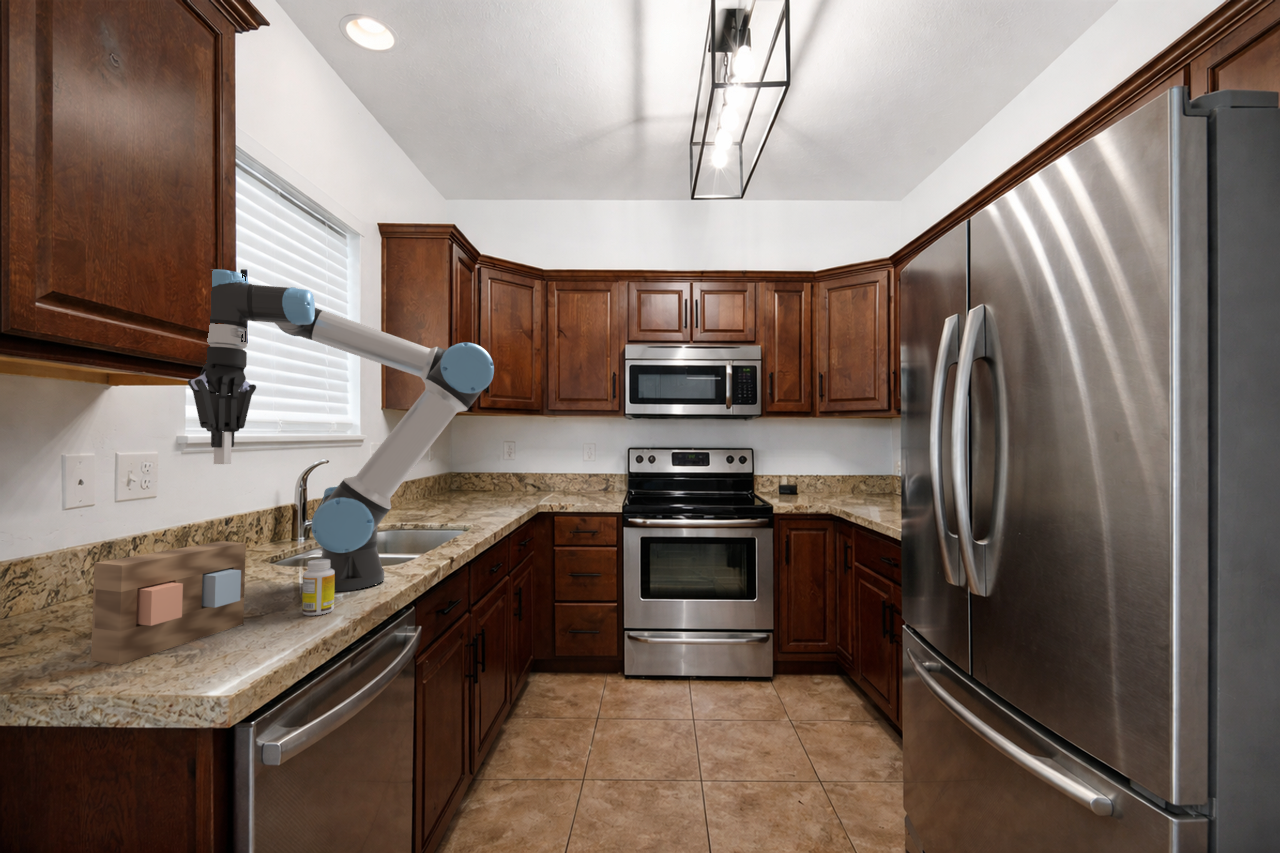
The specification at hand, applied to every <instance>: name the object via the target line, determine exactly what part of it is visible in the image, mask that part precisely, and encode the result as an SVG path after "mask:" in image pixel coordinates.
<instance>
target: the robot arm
mask: <svg viewBox="0 0 1280 853" xmlns="http://www.w3.org/2000/svg"><path fill="white" fill-rule="evenodd" d="M212 270H213V271H212V291H211V316H210V325H209V333H208V338H207V342H208V344H209V345H210V346H209V347H208V348H207V360H206V362H207V363H206V364H205V365H204V366H203V365H202V366H203V367H202V370H201V372H200V375H199V376H198V377H195V378H193V379H192V378H191V379H188V380H187V384H188V386H189V387H190V389H191V392H192V393H193V394H192V395H193V398H194V399H193V400H194V403H195V407H196V411H197V416H198V421H199V425H200V428H202V429H206V431H207V432H208V433H209V432H210V446H211V448H213V465H232V448H234V446H235V433H236V432H239V431H240V429H244V428H245V426H246V421H247V417H248V412H249V408H250V404H251V401H252V395H254V392H255V391H256V390H257V385H256V384H251V383H249V381H247V378H246V374H245V371H244V370H246V368H247V366H248V365H247V358H248V356H247V355H248V353H247V351H246V350H245V349H246V348H247V346H248V345H247V342H248V321H249V322H261V323H274V325H276V326H278V328H279V329H280V330H281V331H282V332H283V333H285V334H288V335H289V336H292V337H301V338H304V339H306V340H310V341H313V342H315V343H318V344H319V343H320V344H322V345H325V346H328V347H331V348H334V349H337V350H340V351H343V352H345V353H349V354H352V355H355V356H358V357H361V358H364V359H367V360H370V361H373V362H375V363H378V364H381V365H384V366H387V367H389V368H393V369H396V370H398V371H401V372H405V373H408V374H411V375H414V376H417V377H419V378H421V379H422V380H421V381H422V382H423V383H424V387H425V389H424V391H423V392H422V393H421V394H420V396H419V397H418V398H417V399H416V401H415V402H414V403H413V404H412V406H410V408H409V409H408V410H407V412H406V413H404V416H403V417H402V418H401V420H399V421H398V423H397V424H396V425H395V427H394V428H393V429H392V430H391V432H390V433H389V434H388V435H387V437H386V438H385V439H384V440H383V442H382V443H381V444H380V445H379V447H378V448H377V449H376V450H375V451H374V452H373V454H372V455H371V457H370V458H369V459H368V460H367V462H366V463H365V464H364V465H363V466H362V468H361V469H360V470H359V472H358V473H357V474H356V475H355V476H354V475H353V476H350V477H344V479H342V480H341V482H340V483H339V484H338V485H337V486H329V487H327V488H325V489H324V491H323V497H322V502H323V503H322V504H321V505H319V506H318V508H317V509H315V511H314V513H313V517H312V518H311V533H312V537H313V538H314V539H315V541H316V543H317V544H318V545H319V546H321V548H322V549H321V550H322V553H321V556H320V558H319V559H329V560H330V565H331V566H330V568H331V569H333V570H334V571H335V586H334V592H347V591H349V592H350V591H357V590H356V589H358V590H362V589H361V588H364V589H366V588H365V587H368V588H370V587H369V586H372V585H375V584H378V583H380V582H382V581H383V580H384V581H385V570H384V568H383V567H382V566H383V565H382V562H381V557H380V555H379V551H378V526H379V524H380V523H381V522H382V520H383V519H384V518H385V517H386V516H387V514H388V513H389V511H390V510H392V503H391V497H392V496H393V495H394V494H395V493H396V491H397V490H398V489H399V488H400V486H401V484H403V482H404V481H405V480H406V479H407V477H408V476H409V475H410V473H411V472H412V471H413V469H414V468H415V466H417V465H418V463H419V462H420V461H421V459H422V458H423V457H424V456H425V455H426V453H427V452H428V451H429V449H430V447H431V446H432V445H433V444H434V443H435V441H436V440H437V439H438V438H439V436H440V435H441V433H442V432H443V431H445V428H446V427H447V426H448V425H449V424H450V422H451V421H452V420H453V418H454V417H455V416H456V414H457V413H460V412H466V411H468V410H469V408H470V407H471V406H472V405H473V404H474V402H475V401H476V400H477V398H478V397H479V396H480V395H481V393H482V392H483V391H484V390H485V389H487V388H488V387H489V385H490V384H491V383H492V381H493V378H494V373H495V365H494V361H493V359H492V357H491V355H490V354H489V352H488V351H487V350H486V349H485V348H483V347H482V346H480V345H479V344H476V343H472V342H460V343H456V344H454V345H451V346H450V347H448V348H447V349H445V348H442V347H440V346H434V347H432V348H429V347H427V346H424V345H421V344H419V343H416V342H412V341H410V340H407V339H404V338H402V337H399V336H395V335H393V334H390V333H387V332H384V331H382V330H379V329H376V328H374V327H370V326H368V325H365V324H362V323H360V322H357V321H353V320H351V319H348V318H346V317H343V316H340V315H336V314H335V313H334V314H333V313H331V312H328V311H325V310H322V309H319V308H317V307H315V298H314V294H313V292H311V290H308V289H303V288H298V287H297V288H296V287H293V286H292V287H291V286H290V287H287V286H286V287H285V286H284V287H283V286H272V285H261V284H260V285H259V284H252V283H249V280H248V277H247V276H246V281H245V277H244V276H243V278H242V274H243V273H241V272H238V271H233V270H227V269H217V268H216V269H212ZM215 323H224V324H215ZM245 327H246V328H245ZM245 331H246V342H244V341H245ZM242 334H243V338H242V340H243V342H241V335H242ZM384 581H383V582H384ZM383 582H382V583H383ZM378 585H379V584H378ZM372 587H373V586H372Z"/></svg>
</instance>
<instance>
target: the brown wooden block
mask: <svg viewBox="0 0 1280 853" xmlns="http://www.w3.org/2000/svg"><path fill="white" fill-rule="evenodd" d="M246 545H247V544H246V542H236V541H225V540H224V541H223V540H219V541H214V542H208V543H203V544H202V543H201V544H195V545H190V546H185V547H180V548H173V549H167V550H161V551H156V552H150V553H143V554H139V555H132V556H127V557H120V558H115V559H108V560H104V561H103V560H102V561H98V562H97V561H96V562H94V565H93V566H94V567H93V591H92V592H93V594H92V622H91V647H90V648H91V652H90V661H91V662H92V661H93V662H96V663H104V664H111V665H116V666H121V665H123V664H126V663H129V662H132V661H135V660H138V659H142V658H144V657H149V656H152V655H154V654H156V653H160V652H163V651H166V650H168V649H172V648H175V647H179V646H181V645H184V644H187V643H191V642H194V641H196V640H200V639H203V638H206V637H209V636H212V635H214V634H218V633H222V632H224V631H227V630H230V629H234V628H236V627H240V626H242V625H244V623H245V622H244V621H245V620H244V618H245V616H244V615H245V584H246V580H245V579H246V549H247V546H246ZM223 569H232V570H241V590H240V601H237V602H233V603H230V604H226V605H223V606H219V607H215V608H213V607H205V606H202V578H203V574H205V573H210V572H214V571H219V570H223ZM164 582H172V583H181V584H183V598H182V617H180V618H177V619H173V620H170V621H166V622H162V623H159V624H155V625H152V626H149V625H141V624H136V617H137V588H141V587H146V586H151V585H155V584H160V583H164ZM159 651H160V652H159ZM153 653H154V654H153Z"/></svg>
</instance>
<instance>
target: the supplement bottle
mask: <svg viewBox="0 0 1280 853" xmlns="http://www.w3.org/2000/svg"><path fill="white" fill-rule="evenodd" d="M330 566H331V565H330V560H329V559H320V558H317V559H316V558H315V559H311V560H309V561H307V568H306V569H307V570H305V571H304V572H303V574H302V594H301V596H302V597H301V598H302V600H301V601H302V602H301V603H302V606H301V608H302V610H301V611H302V614H303V615H305V616H310V617H313V616H315V615H316V616H322V614H323V615H326V613H327V614H329V613H331V612H333V610H334V609H335V591H334V586H335V571H334V570H333V569H331V568H330ZM316 616H315V617H316Z"/></svg>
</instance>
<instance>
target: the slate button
mask: <svg viewBox="0 0 1280 853" xmlns="http://www.w3.org/2000/svg"><path fill="white" fill-rule="evenodd" d="M240 590H241V570H232V569H223V570H219V571H214V572H210V573H205V574H203V578H202V606H205V607H213V608H215V607H219V606H223V605H226V604H230V603H233V602H237V601H240Z"/></svg>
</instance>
